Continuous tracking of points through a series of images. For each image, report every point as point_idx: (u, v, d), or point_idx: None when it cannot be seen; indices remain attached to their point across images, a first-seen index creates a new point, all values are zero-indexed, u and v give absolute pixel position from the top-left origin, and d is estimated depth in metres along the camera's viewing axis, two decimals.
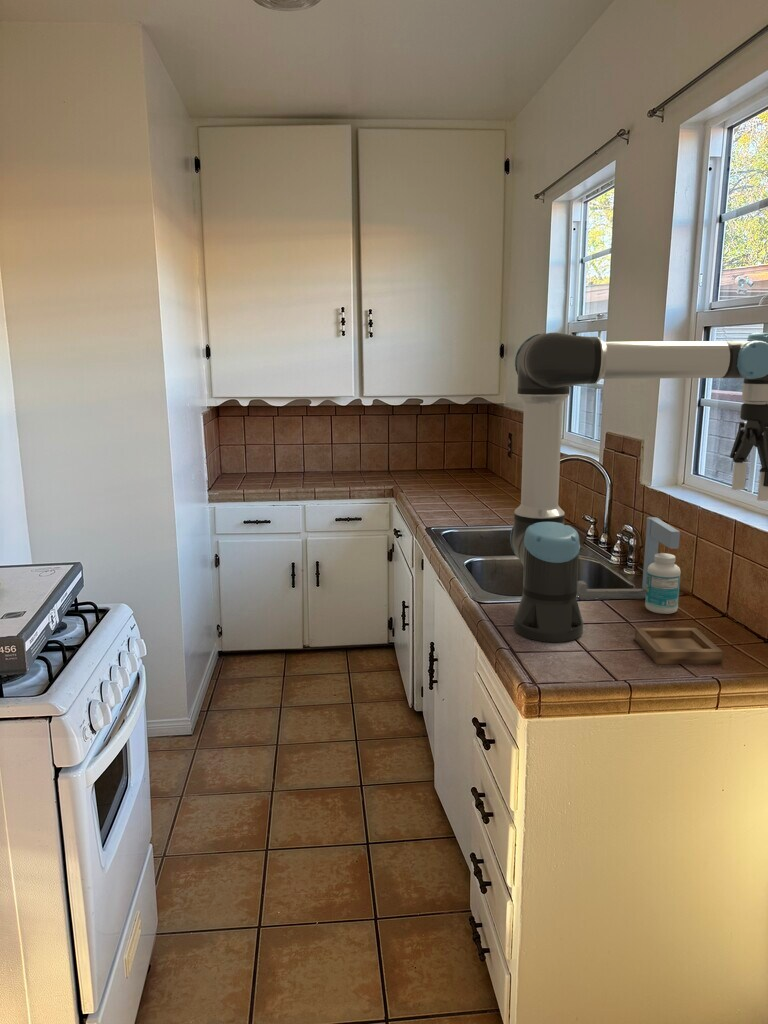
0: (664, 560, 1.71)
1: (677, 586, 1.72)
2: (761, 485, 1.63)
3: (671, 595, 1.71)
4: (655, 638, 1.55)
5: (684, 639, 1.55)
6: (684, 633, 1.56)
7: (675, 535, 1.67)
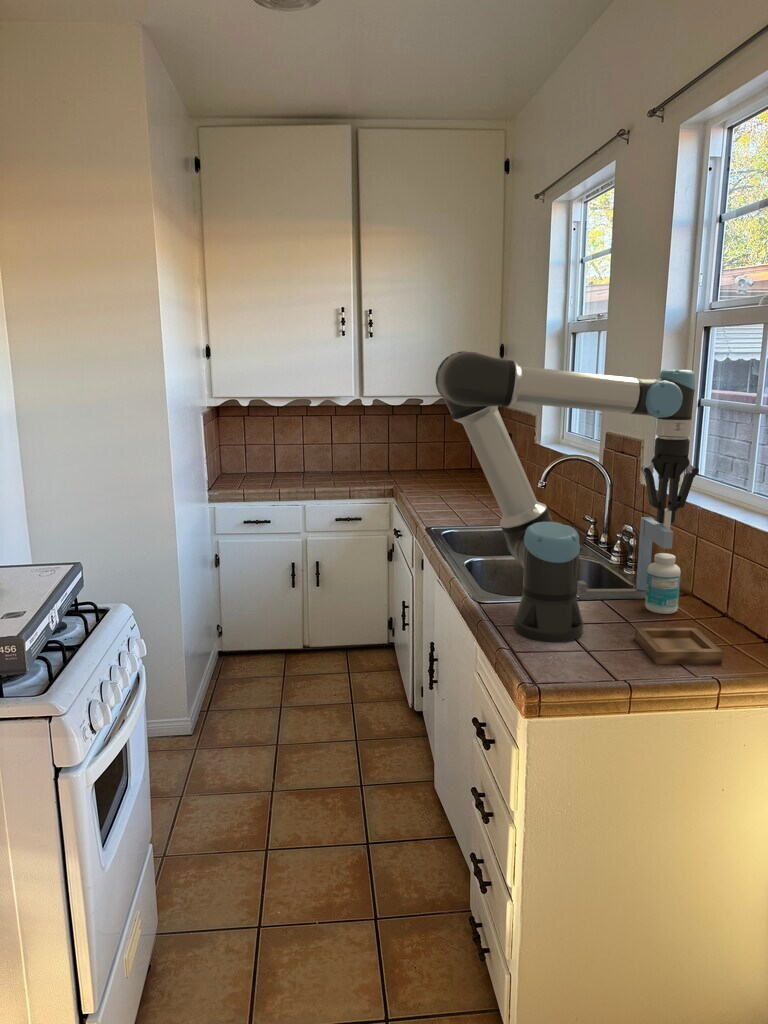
0: (664, 560, 1.71)
1: (677, 586, 1.72)
2: None
3: (671, 595, 1.71)
4: (655, 638, 1.55)
5: (684, 639, 1.55)
6: (684, 633, 1.56)
7: (669, 535, 1.67)
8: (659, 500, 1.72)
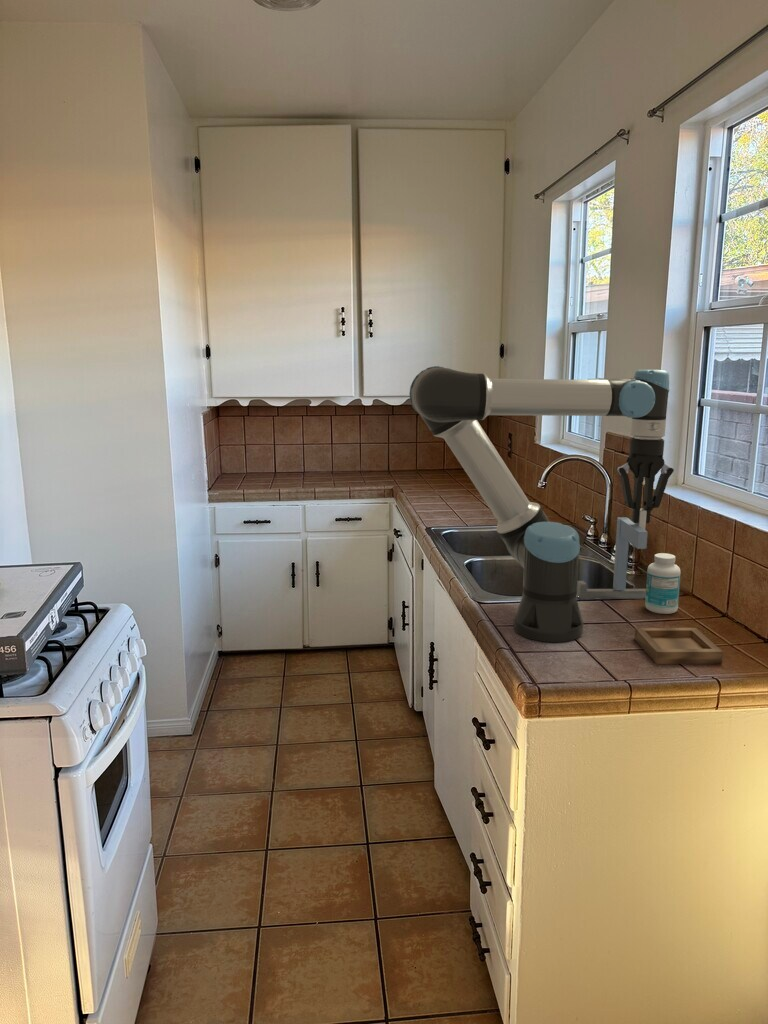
0: (664, 560, 1.71)
1: (677, 586, 1.72)
2: None
3: (671, 595, 1.71)
4: (655, 638, 1.55)
5: (684, 639, 1.55)
6: (684, 633, 1.56)
7: (643, 535, 1.67)
8: (634, 500, 1.72)
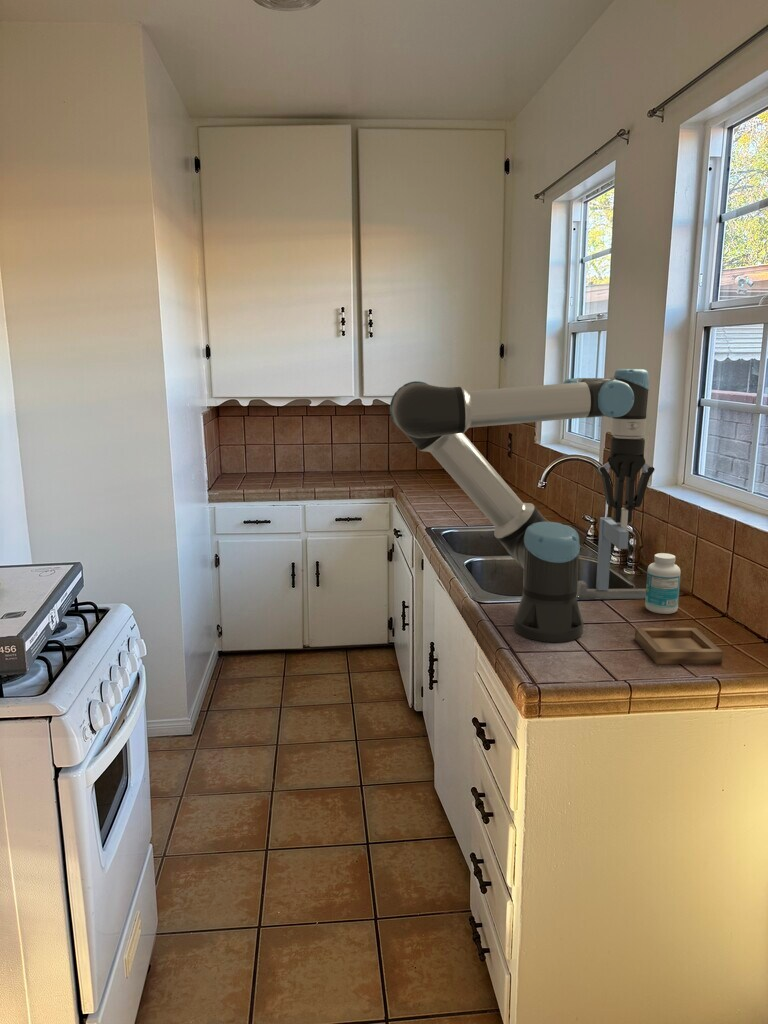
0: (664, 560, 1.71)
1: (677, 586, 1.72)
2: None
3: (671, 595, 1.71)
4: (655, 638, 1.55)
5: (684, 639, 1.55)
6: (684, 633, 1.56)
7: (624, 535, 1.67)
8: (616, 499, 1.72)
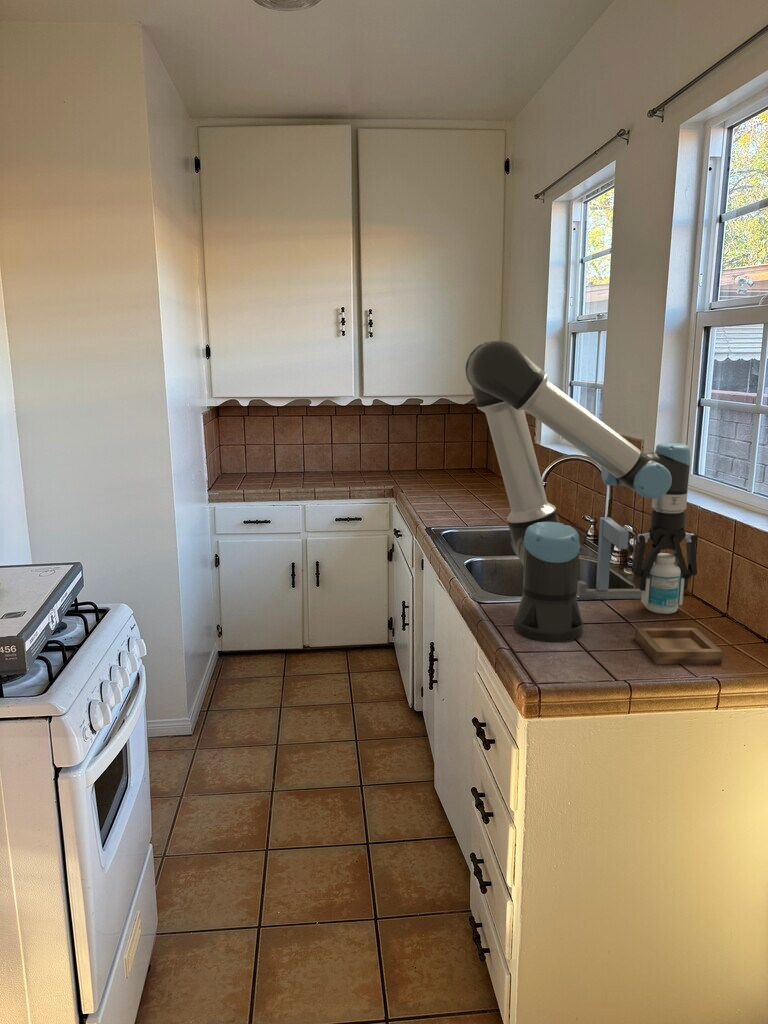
0: (664, 560, 1.71)
1: (677, 586, 1.72)
2: None
3: (671, 595, 1.71)
4: (655, 638, 1.55)
5: (684, 639, 1.55)
6: (684, 633, 1.56)
7: (624, 535, 1.67)
8: (643, 568, 1.74)
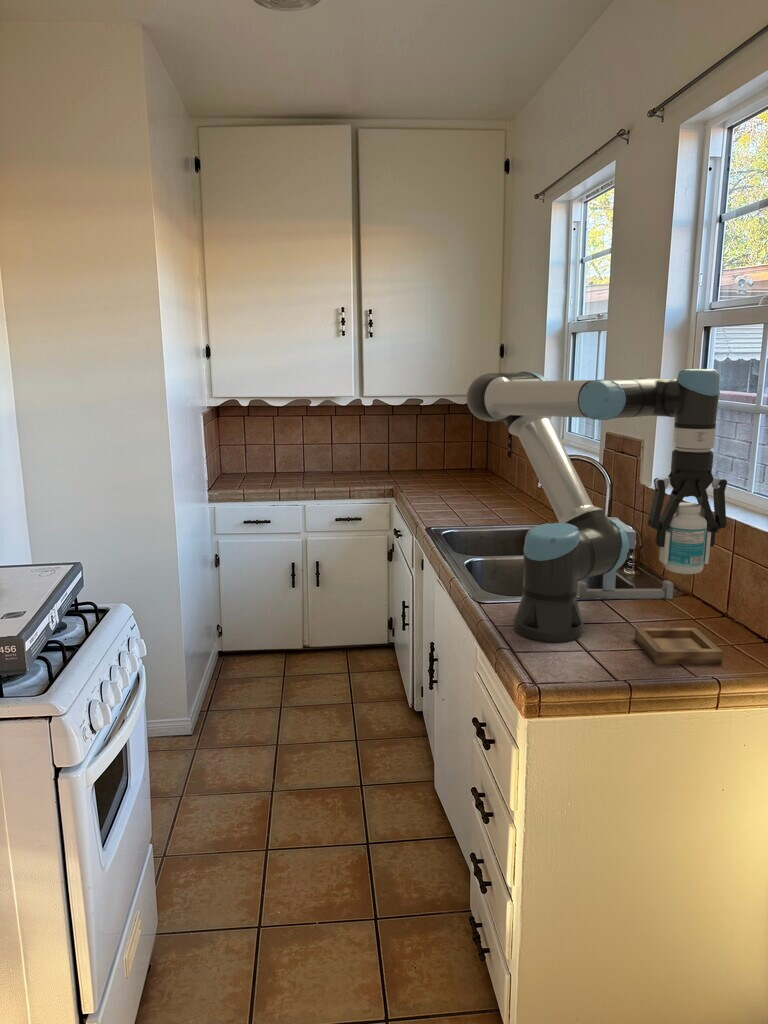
0: (688, 510, 1.43)
1: (703, 541, 1.44)
2: None
3: (696, 551, 1.43)
4: (655, 638, 1.55)
5: (684, 639, 1.55)
6: (684, 633, 1.56)
7: (631, 535, 1.67)
8: (662, 519, 1.46)
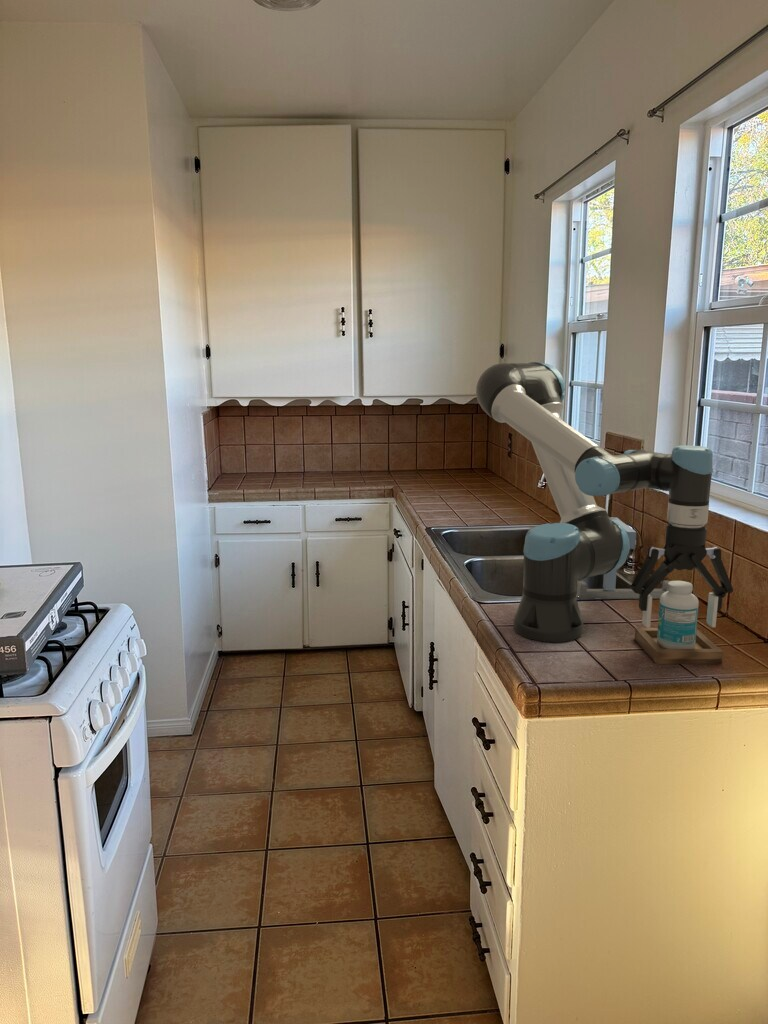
0: (680, 590, 1.46)
1: (695, 620, 1.47)
2: None
3: (688, 630, 1.47)
4: (655, 638, 1.55)
5: None
6: None
7: (632, 535, 1.67)
8: (647, 584, 1.48)
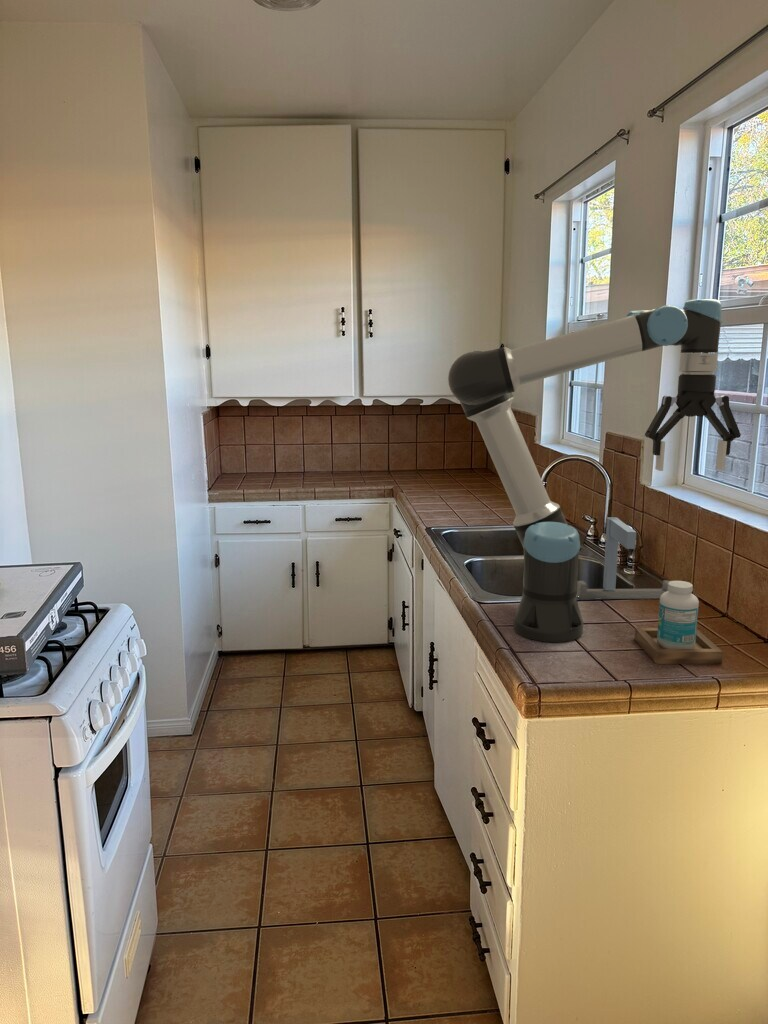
0: (680, 590, 1.46)
1: (695, 620, 1.47)
2: None
3: (688, 630, 1.47)
4: (655, 638, 1.55)
5: None
6: None
7: (632, 535, 1.67)
8: (660, 430, 1.62)
